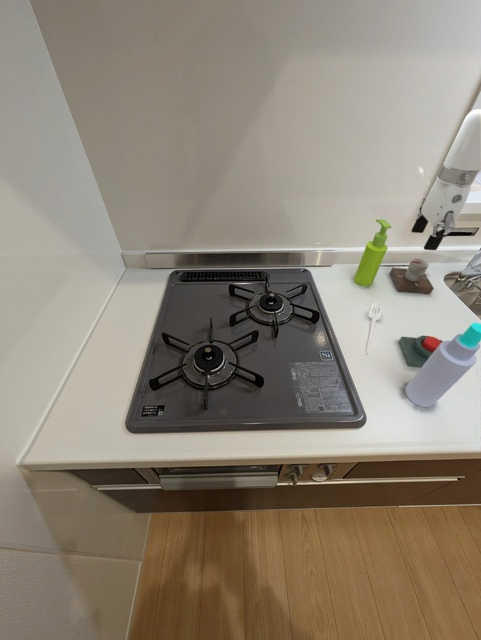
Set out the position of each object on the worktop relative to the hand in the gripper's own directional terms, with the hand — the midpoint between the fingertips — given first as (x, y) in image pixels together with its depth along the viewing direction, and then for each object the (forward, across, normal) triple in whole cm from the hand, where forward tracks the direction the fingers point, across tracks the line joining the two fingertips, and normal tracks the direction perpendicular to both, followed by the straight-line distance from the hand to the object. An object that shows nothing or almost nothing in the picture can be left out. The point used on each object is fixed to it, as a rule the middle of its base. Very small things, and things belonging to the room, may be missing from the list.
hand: (422, 240), depth 78 cm
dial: (+14, +3, -4) cm, 15 cm away
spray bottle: (+17, -40, +7) cm, 44 cm away
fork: (+17, -20, +13) cm, 29 cm away
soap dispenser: (+17, +3, +11) cm, 20 cm away
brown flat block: (+17, +3, -4) cm, 18 cm away
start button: (+13, -28, +2) cm, 31 cm away
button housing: (+17, -28, +2) cm, 33 cm away
